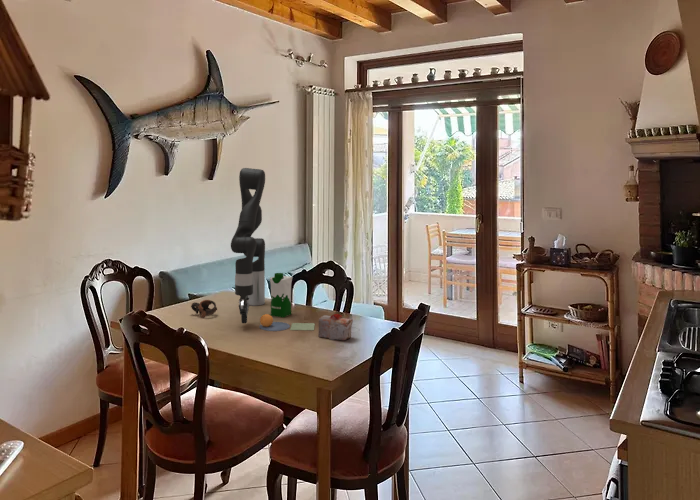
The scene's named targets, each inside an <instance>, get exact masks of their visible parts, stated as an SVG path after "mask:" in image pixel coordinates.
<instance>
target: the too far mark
mask: <svg viewBox="0 0 700 500" xmlns="http://www.w3.org/2000/svg"><path fill="white" fill-rule="evenodd" d="M315 325H316V324H315V323H314V322H291V325H290V328H289V330H290V331H315Z"/></svg>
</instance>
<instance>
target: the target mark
mask: <svg viewBox="0 0 700 500" xmlns="http://www.w3.org/2000/svg"><path fill="white" fill-rule="evenodd" d="M258 327H259V329H261V330H262V331H268V332H280V331H285V330H288V329H290V328H291V325H290V324H289V323H286V322H282V321H273V323H272V325H271V326H269V327H264V326H262V325H261V324H259V326H258Z"/></svg>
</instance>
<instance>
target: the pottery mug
mask: <svg viewBox="0 0 700 500" xmlns="http://www.w3.org/2000/svg"><path fill="white" fill-rule="evenodd" d="M210 305H213V307H212V308H210V307H209V306H210ZM190 308H191V310H192V311H194V312H195V314H197V315H198V314H199V315H200V317H201V318H203V319H205V318H206V317H209V316H211V315H212V316H213V315H214V314H215V313H216V311H218V307H217V304H216V302H215V301H213V300H210V299H203V300H201V301H200V303H199V302H192V303H191V305H190Z"/></svg>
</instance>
